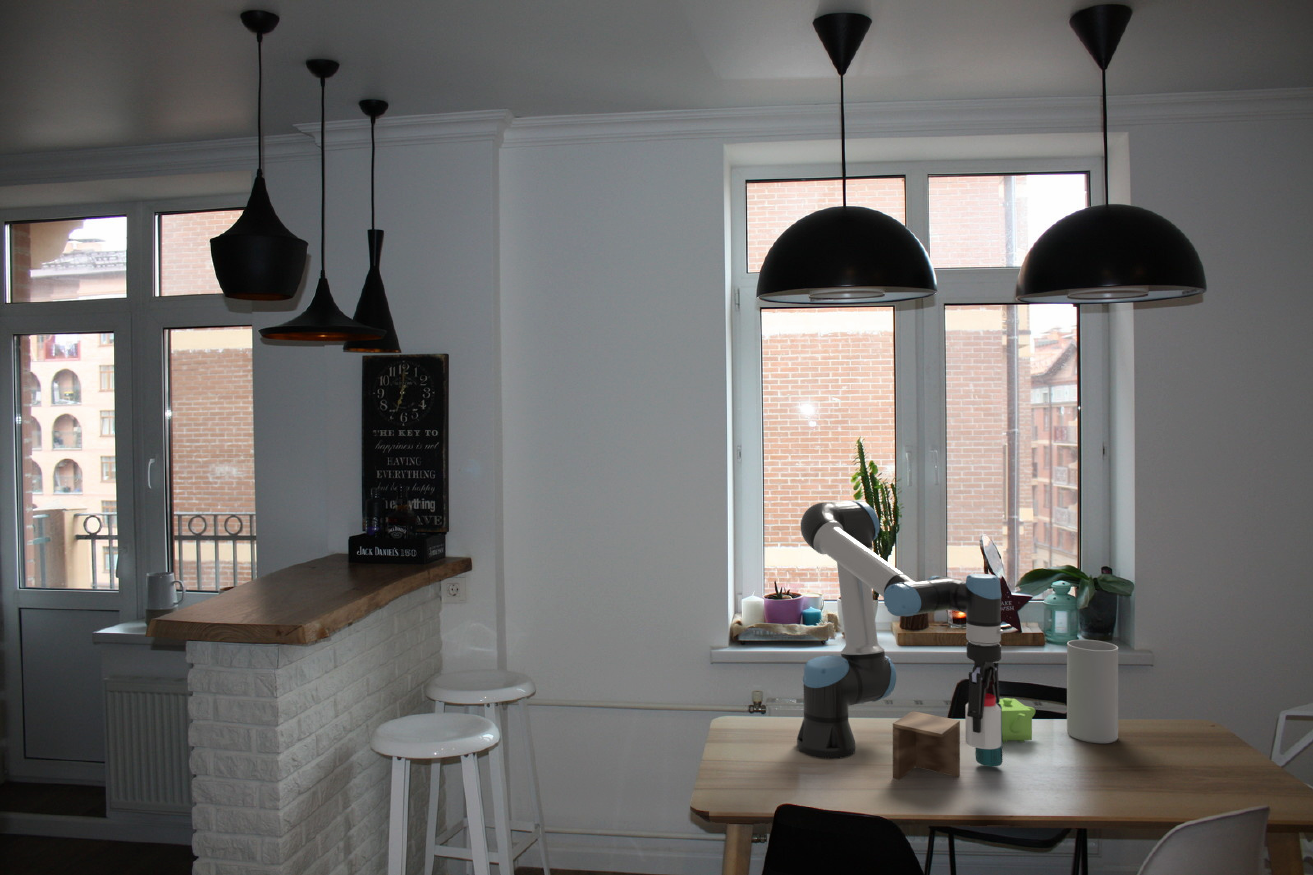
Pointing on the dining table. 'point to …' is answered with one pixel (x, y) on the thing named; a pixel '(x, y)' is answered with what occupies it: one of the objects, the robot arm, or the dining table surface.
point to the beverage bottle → (990, 753)
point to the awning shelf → (926, 744)
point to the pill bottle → (987, 724)
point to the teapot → (1016, 720)
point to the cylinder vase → (1092, 691)
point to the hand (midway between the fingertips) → (984, 740)
